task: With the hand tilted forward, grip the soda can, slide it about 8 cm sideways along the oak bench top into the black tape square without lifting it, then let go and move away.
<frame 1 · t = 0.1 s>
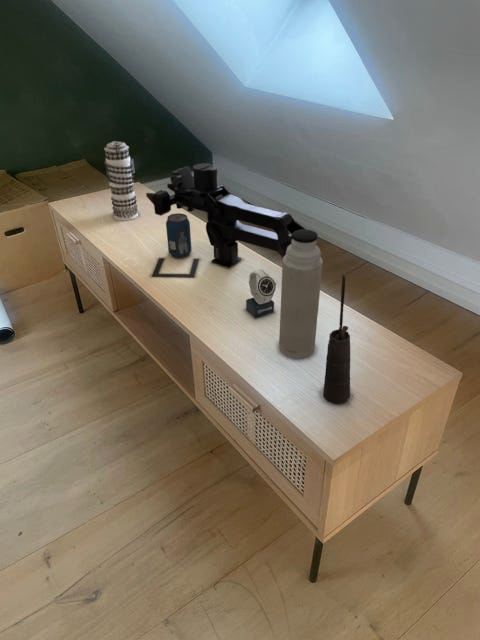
hand: (157, 190, 151), 17 cm above the tv stand, tool horizontal, fingers open, 9 cm apart
thermos bottle: (296, 348, 113), on the tv stand
watch: (260, 312, 125), on the tv stand
soda can: (180, 254, 152), on the tv stand
white and grey cylinder: (126, 216, 177), on the tv stand
tape square: (176, 266, 145), on the tv stand
butter churn: (337, 392, 101), on the tv stand
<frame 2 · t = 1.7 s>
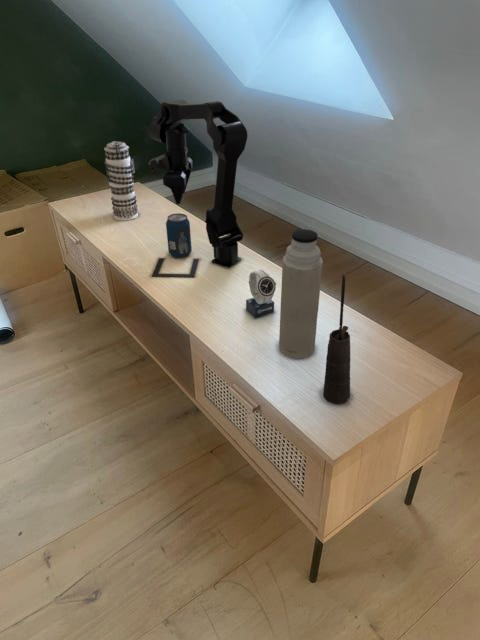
hand: (180, 198, 155), 13 cm above the tv stand, tool pointing down, fingers open, 9 cm apart
nothing on the tv stand moved.
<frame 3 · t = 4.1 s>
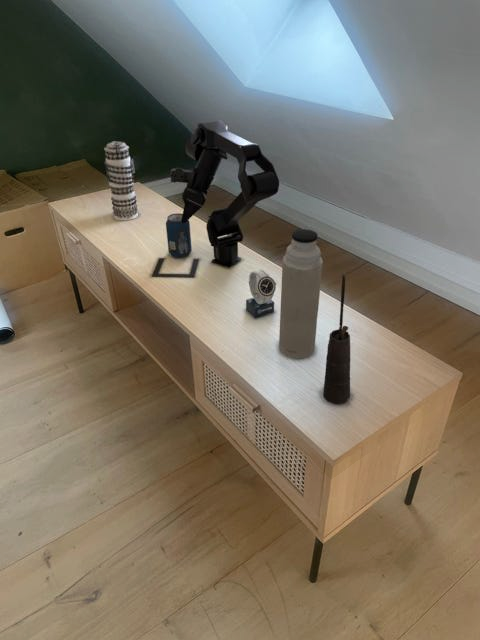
hand: (184, 219, 143), 12 cm above the tv stand, tool tilted 30°, fingers open, 9 cm apart
soda can: (180, 254, 152), on the tv stand, touching gripper
everything else where it was.
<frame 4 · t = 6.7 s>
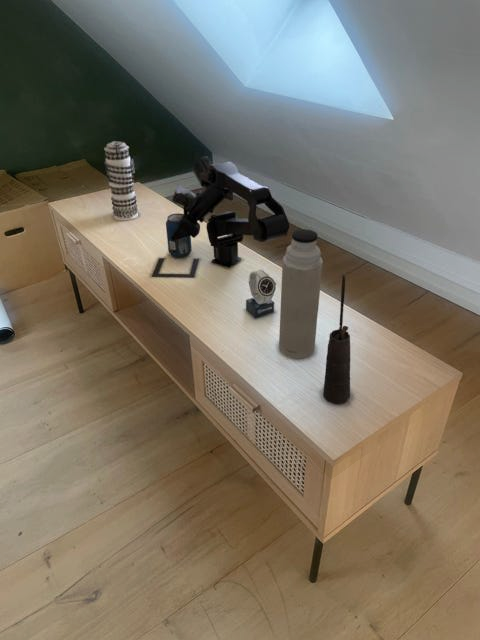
hand: (174, 234, 148), 7 cm above the tv stand, tool tilted 45°, fingers closed on soda can, 7 cm apart
soda can: (180, 254, 152), on the tv stand, touching gripper
everything else where it was.
when the fingers open (7 cm above the tv stand, at t = 9.9 s): soda can stays where it is, on the tv stand.
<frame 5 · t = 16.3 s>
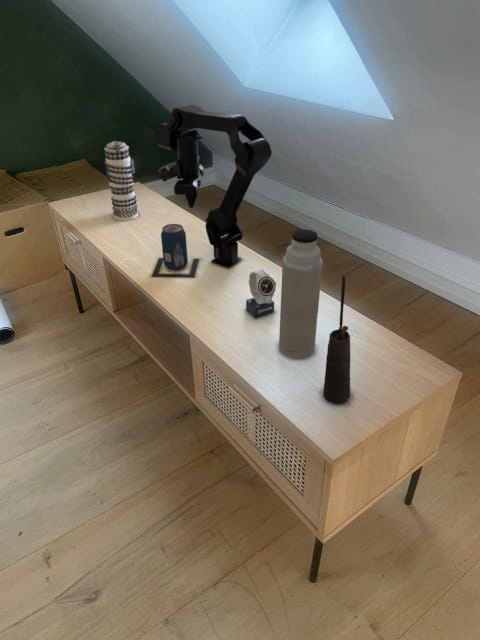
hand: (191, 207, 148), 13 cm above the tv stand, tool pointing down, fingers closed
soda can: (176, 266, 145), on the tv stand
everything else where it was.
at the end: soda can 0.3 cm from the tape square (horizontally); soda can tilted 0°; the gripper is holding nothing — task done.
